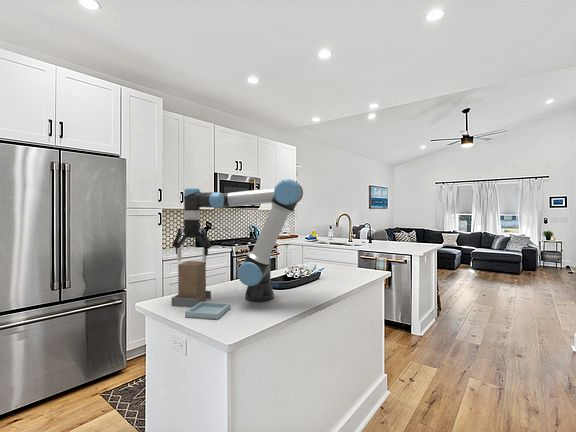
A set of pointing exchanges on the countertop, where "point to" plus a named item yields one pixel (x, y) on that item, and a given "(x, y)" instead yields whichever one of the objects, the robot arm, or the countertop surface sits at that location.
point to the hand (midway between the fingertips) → (191, 261)
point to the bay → (187, 300)
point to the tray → (208, 310)
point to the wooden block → (192, 280)
